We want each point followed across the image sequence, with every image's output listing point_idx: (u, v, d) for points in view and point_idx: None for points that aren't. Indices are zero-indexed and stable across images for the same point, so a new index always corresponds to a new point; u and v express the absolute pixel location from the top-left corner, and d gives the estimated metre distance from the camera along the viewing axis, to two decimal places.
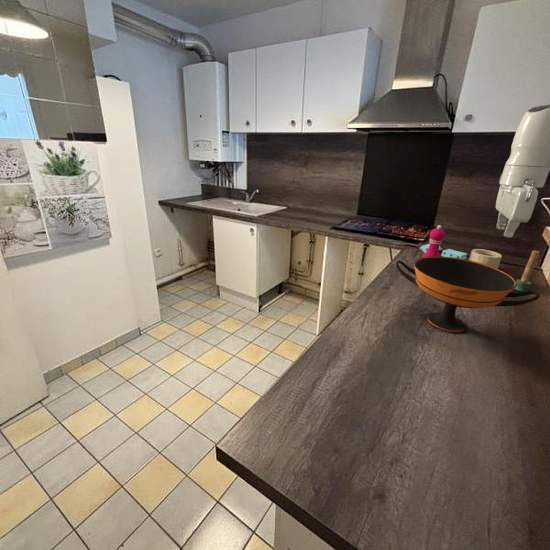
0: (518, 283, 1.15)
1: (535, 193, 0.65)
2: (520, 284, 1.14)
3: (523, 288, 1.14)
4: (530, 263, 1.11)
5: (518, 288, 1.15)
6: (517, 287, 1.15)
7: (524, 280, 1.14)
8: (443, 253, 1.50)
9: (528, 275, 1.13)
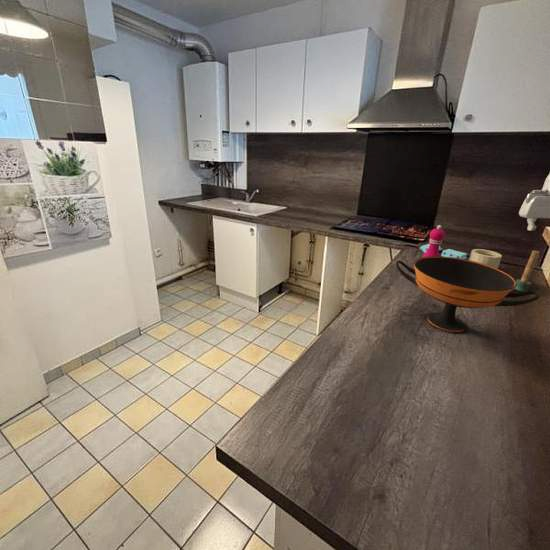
0: (518, 283, 1.15)
1: (533, 198, 0.98)
2: (520, 284, 1.14)
3: (523, 288, 1.14)
4: (530, 263, 1.11)
5: (518, 288, 1.15)
6: (517, 287, 1.15)
7: (524, 280, 1.14)
8: (443, 253, 1.50)
9: (528, 275, 1.13)
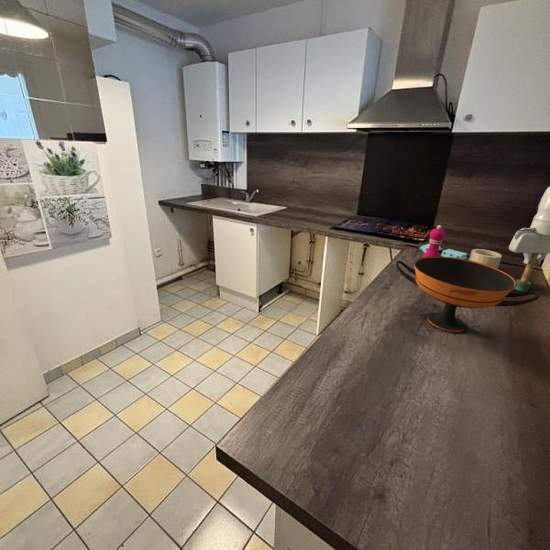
0: (518, 283, 1.15)
1: (521, 235, 1.06)
2: (520, 284, 1.14)
3: (523, 288, 1.14)
4: None
5: (518, 288, 1.15)
6: (517, 287, 1.15)
7: (524, 280, 1.14)
8: (443, 253, 1.50)
9: (528, 275, 1.13)
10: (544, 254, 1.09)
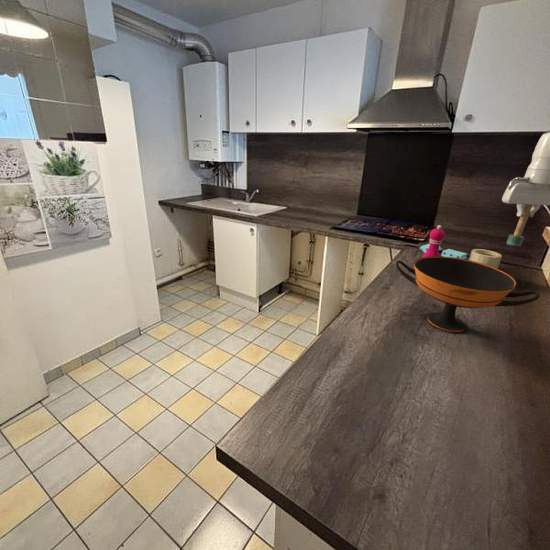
0: (511, 237, 1.13)
1: (515, 184, 1.04)
2: (513, 238, 1.12)
3: (516, 242, 1.12)
4: (523, 216, 1.09)
5: (511, 243, 1.13)
6: (510, 242, 1.13)
7: (517, 234, 1.12)
8: (443, 253, 1.50)
9: (521, 229, 1.11)
10: (537, 206, 1.08)
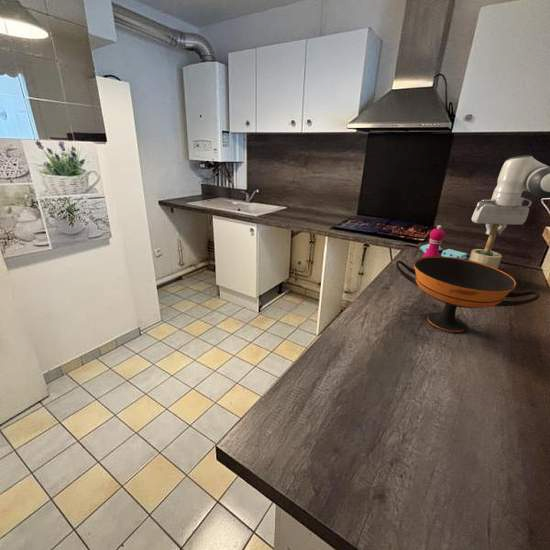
0: (481, 253, 1.22)
1: (482, 206, 1.13)
2: (483, 254, 1.21)
3: None
4: None
5: None
6: None
7: (487, 250, 1.21)
8: (443, 253, 1.50)
9: (490, 245, 1.20)
10: (504, 225, 1.17)
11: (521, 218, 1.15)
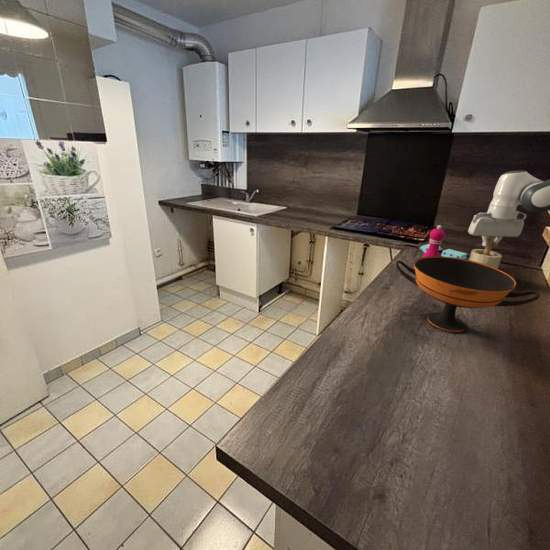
0: None
1: (478, 219, 1.16)
2: None
3: None
4: (488, 246, 1.22)
5: None
6: None
7: None
8: (443, 253, 1.50)
9: None
10: (500, 237, 1.20)
11: (516, 230, 1.18)
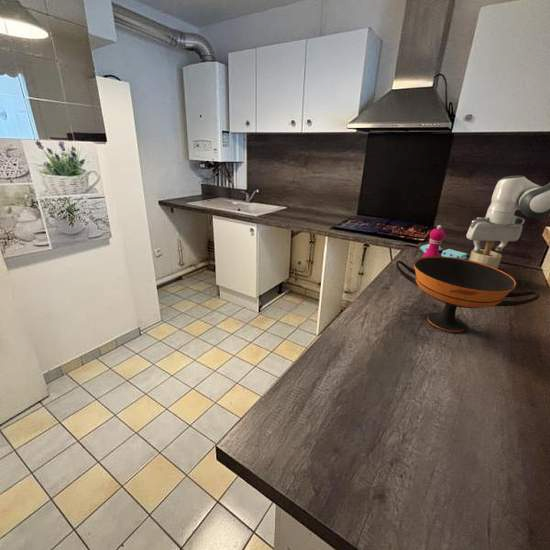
0: None
1: (476, 224, 1.16)
2: None
3: None
4: (486, 251, 1.21)
5: None
6: None
7: None
8: (443, 253, 1.50)
9: None
10: (505, 242, 1.20)
11: (515, 235, 1.18)
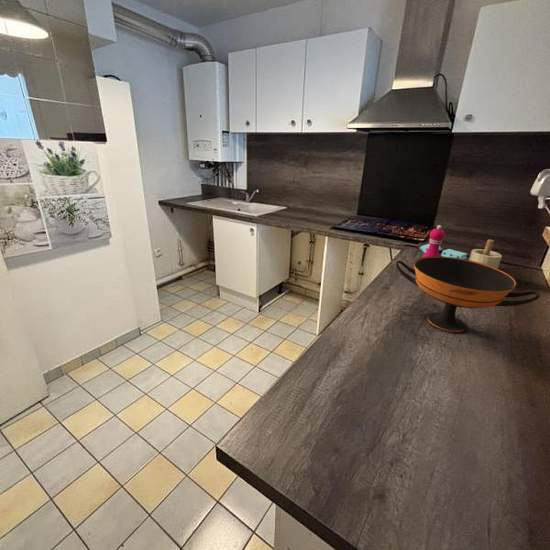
0: None
1: (544, 176, 1.04)
2: None
3: None
4: (486, 251, 1.21)
5: None
6: None
7: None
8: (443, 253, 1.50)
9: None
10: None
11: None
